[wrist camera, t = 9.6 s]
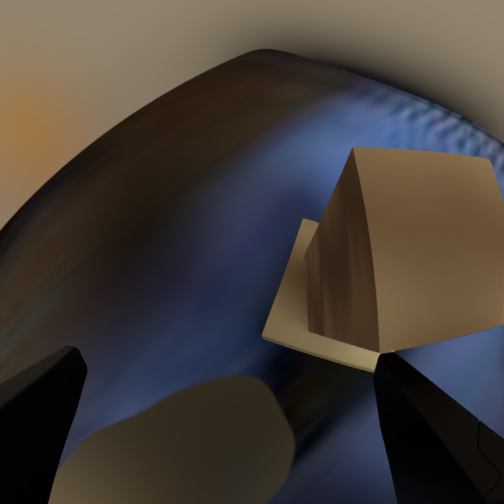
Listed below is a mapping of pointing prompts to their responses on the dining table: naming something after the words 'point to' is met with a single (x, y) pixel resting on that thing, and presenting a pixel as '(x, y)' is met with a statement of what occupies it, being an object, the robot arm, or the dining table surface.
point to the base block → (296, 316)
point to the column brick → (407, 251)
